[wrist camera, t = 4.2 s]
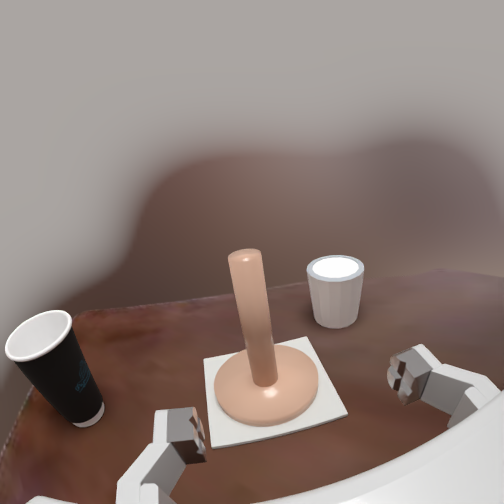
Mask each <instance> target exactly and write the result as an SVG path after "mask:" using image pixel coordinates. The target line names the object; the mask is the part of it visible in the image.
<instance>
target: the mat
mask: <svg viewBox="0 0 504 504" xmlns="http://www.w3.org/2000/svg"><path fill="white" fill-rule="evenodd" d="M274 345H284V346H289V347H292V348H295V349H298V350H300V351H302V352H303V353H305V354H306V355H308V356H309V357H310V358H311V359H312V361H313V362H314V363H315V365H316V368H317V370H318V392H317V395H316V398H315V399H314V401H313V403H312V404H311V406H310V407H309V408H308V409H307V410H306V411H305V412H304V413H302V414H301V415H300V416H298V417H297V418H295V419H293V420H291V421H289V422H286V423H283V424H280V425H275V426H268V427H256V426H249V425H246V424H242V423H240V422H237V421H235V420H234V419H232V418H230V417H229V416H228V415H227V414H226V413H225V412H224V411H223V410H222V409H221V407H220V405H219V403H218V400H217V398H216V395H215V392H214V380H215V376H216V374H217V372H218V370H219V369H220V367H221V366H222V365H223V364H224V363H225V362H226V361H227V360H228V359H229V358H230V357H232V356H233V355H235V354H237V353H233V354H228V355H223V356H218V357H212V358H207V359H204V370H205V383H206V396H207V407H208V418H209V428H210V437H211V446H212V449H217V448H224V447H230V446H236V445H241V444H247V443H252V442H257V441H261V440H266V439H270V438H275V437H279V436H283V435H287V434H291V433H294V432H298V431H302V430H305V429H309V428H312V427H315V426H319V425H322V424H325V423H328V422H331V421H334V420H337V419H340V418H343V417H346V416H348V413H347V411H346V409H345V407H344V405H343V403H342V401H341V400H340V398H339V396H338V394H337V392H336V390H335V388H334V386H333V385H332V383H331V381H330V379H329V377H328V375H327V373H326V372H325V370H324V368H323V366H322V364H321V362H320V360H319V359H318V357H317V355H316V353H315V351H314V349H313V347H312V346H311V344H310V342H309V340H308V338H307V336H306V337H302V338H298V339H294V340H290V341H286V342H282V343H278V344H274ZM238 353H239V352H238Z"/></svg>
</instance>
